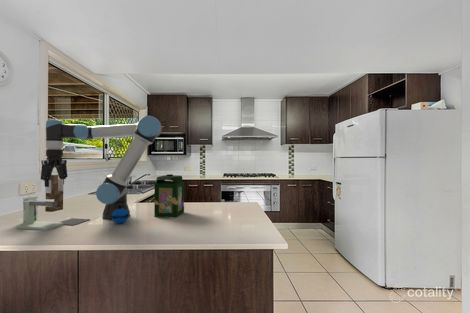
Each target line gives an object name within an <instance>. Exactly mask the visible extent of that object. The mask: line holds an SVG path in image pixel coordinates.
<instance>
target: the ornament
mask: <svg viewBox="0 0 470 313" xmlns="http://www.w3.org/2000/svg"><path fill="white" fill-rule="evenodd" d="M121 207H122V206H121V205H119V208H117V209H115V210H114V211H113V213H112V215H111V218H112V219H111V220H112V221H113V222H114V223H115V224H119V225H120V224H123V223H125V222H126V221H127V220H128V218H129V217H130V216H129V213H128V212H127V210H126V209H124V208H121Z"/></svg>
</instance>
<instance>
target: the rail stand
mask: <svg viewBox="0 0 470 313" xmlns="http://www.w3.org/2000/svg"><path fill="white" fill-rule="evenodd" d="M34 206H38V207H39V206H40V207H46V206H52V207H56V206H57V201H54V200H53V201H47V200H44V201H42V200H38V201H31V200H30V201H25V224H23V223H22V224H19V225H16V229H22V230H35V231H37V230H38V231H49V230H52V229H56V228H58V227H62V226H65V225H64V223H60V222H61V221H59V222H58V221H57V222H56V221H40V220H38V221H34Z"/></svg>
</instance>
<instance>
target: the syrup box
mask: <svg viewBox="0 0 470 313" xmlns="http://www.w3.org/2000/svg"><path fill="white" fill-rule="evenodd" d="M30 200H31V201H39V195H37V194H36V195H25V196H24V197H22V208H23V209H22V213H23V215H22V216H23V217H22V218H23V219H22V221H23V222H22V224H25V201H30ZM34 221H39V206H34Z"/></svg>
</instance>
